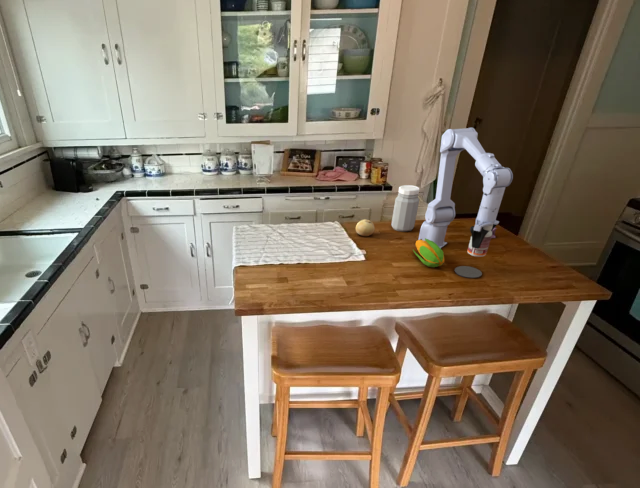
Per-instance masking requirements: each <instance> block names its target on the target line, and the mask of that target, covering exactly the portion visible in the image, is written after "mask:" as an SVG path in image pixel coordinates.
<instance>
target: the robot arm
mask: <svg viewBox="0 0 640 488" xmlns="http://www.w3.org/2000/svg"><path fill="white" fill-rule="evenodd" d="M478 134H479V133H478V132H477V131H476V129H475V128H474V127H468V128H467V127H464V128H448V129H446V130H445V132H444V133H443V134H441V141H440V148H439V153H440V160H439V168H438V174H437V184H436V193H435V198H434V199H433V200H431V201H430V202H428V204H427V209H426V210H425V215H424V218H425V220H424V221H423V222H422V223H421V226H420V229H419V234H418V240H424V241H426V240H425V239H428V240H431V241H433V242H434V243H436V244H437V245H438V246H439V247H440V249H442V248H443V247H444V246H447V244H448V242H446V241H445V239H446V234H447V230H448V226H449V225H450V224H451V223H452V222H453V221H454V219H455V217H456V208H455V207H456V203H455V202H454V201H453V200H452V199H451V196H452V189H453V182H454V174H455V168H456V159H457V156H458V155H459V154H460V153H461V152H463V151H466V152H467V153H468V154H469V155H470V156H471V157H472V158H473V159H474V161H475V163H474V166H475V168H476V169H477V170H478V172H479V173H480V175H481V176H482V184H483V187H482V192H483V194H482V197H481V200H480V201H481V202H480V205H479V209H478V212H477V216H476V217H475V224H474V225H472V226H470V228H469V231H470V234H471V236H472V247H473V248H477V249H478V248H479V247H480V245H481V243H482V241H483V239H484V237H485V235H486V234H487V233H488V232H489V231H488V230H484V229H483V228H484V227H485V226H489V225H493V227H492V230H493V229H494V228H497V226H498V225H499V223H500V221H499V220H497V217H498V213H499V210H500V207H501V203H502V200H503V197H504V194H505V190H506V187H509V186H510V185H511V183H512V182H513V179H514V174H513V171H512V170H511V168H509V167H504V166H502V164H501V163H500V162H499V161H498V160H497V159H496V157H495V154H494V153H491V152H486V150H485V149H484V147H483V146H482V144H481V143H480V141H479V139H478V136H479V135H478ZM492 230H491V231H492Z"/></svg>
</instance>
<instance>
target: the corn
mask: <svg viewBox="0 0 640 488" xmlns="http://www.w3.org/2000/svg"><path fill="white" fill-rule="evenodd" d="M425 240H426V241H424V240H416V241H415V248H416V250H417V252H418V253H417V252H416V251H415V250H414V249H412V251H413V254H415V256H416V257H417V258H418V259H419V260H420V261H421V263H422V264H423V265H425V266H426V267H428V268H440V267H441V266H443V265H444V264H445V253H444V251H443V250H442V248H440V247H439V246H438V245H437V244H436V243H434V242H433V241H431V240H428V239H425Z"/></svg>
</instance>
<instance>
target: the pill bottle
mask: <svg viewBox="0 0 640 488" xmlns="http://www.w3.org/2000/svg"><path fill="white" fill-rule="evenodd" d="M492 227H493V225H489V226H485V227H484V228H483V229H484V230H488V231H489V232H488V233H487V234H486V235H485V237H484V239H483V241H482V243H481V245H480V247H479V248H478V249H477V248H473V247H472V235H471V236H470V240H469V243H468V246H467V250H466V251H467V254H468V255H470V256H472V257H475V258H481V257H482V258H483V257H485V256H486V255H487V253H488V249H489V247H490V243H491V240H492V238H491V237H492V231H491V230H492Z"/></svg>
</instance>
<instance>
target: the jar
mask: <svg viewBox="0 0 640 488" xmlns="http://www.w3.org/2000/svg"><path fill="white" fill-rule="evenodd" d="M419 193H420V187H419V186H416V185H412V184H404V185H403V184H402V185H400V186H399V187H398V192H397V196H396V197H395V199H394V204H393V205H394V206H393V212H392V219H391V225H390V226H391V227H392V229H393V230H394V231H397V232H403V233H405V232H406V233H407V232H411V231H412V230H413V229H414V228H415V225H416V220H417V214H418V209H419V204H420V198H419Z"/></svg>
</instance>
